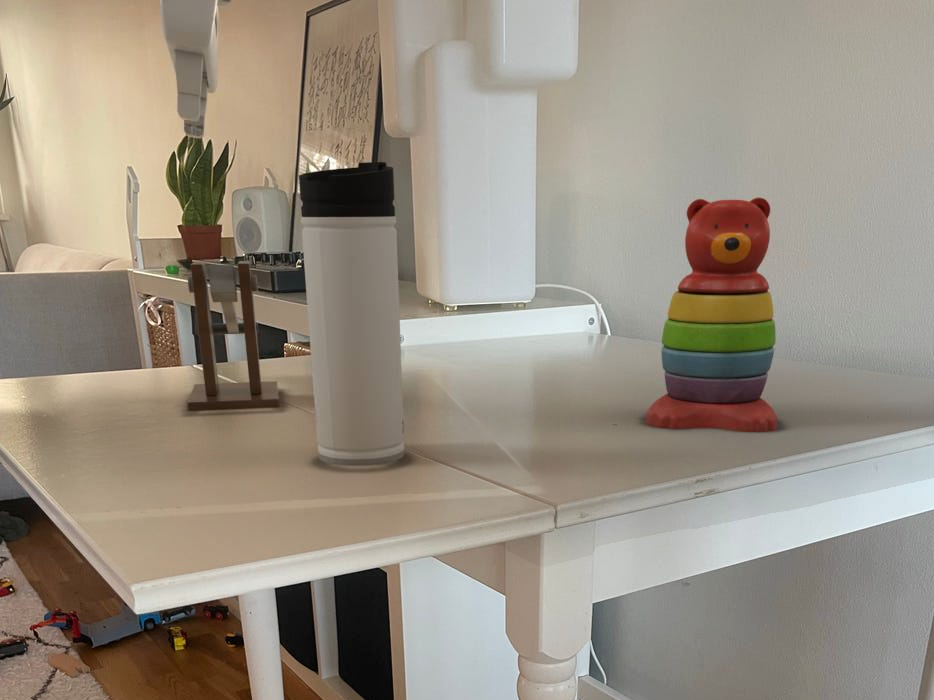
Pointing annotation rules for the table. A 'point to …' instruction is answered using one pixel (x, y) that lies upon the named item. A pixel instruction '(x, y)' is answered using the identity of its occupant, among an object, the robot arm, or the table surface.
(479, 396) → the table surface
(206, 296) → the brown wooden stand
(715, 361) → the stacking bear
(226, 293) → the lever
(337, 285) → the travel mug
